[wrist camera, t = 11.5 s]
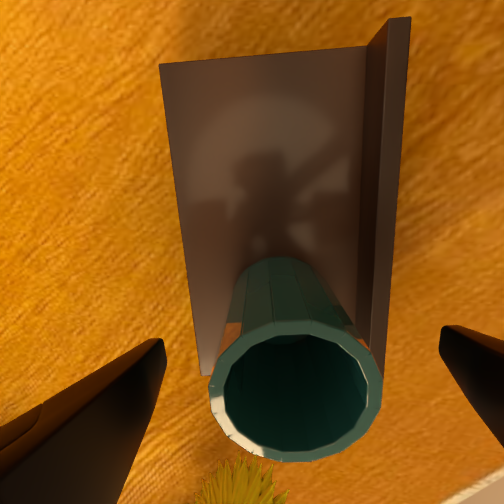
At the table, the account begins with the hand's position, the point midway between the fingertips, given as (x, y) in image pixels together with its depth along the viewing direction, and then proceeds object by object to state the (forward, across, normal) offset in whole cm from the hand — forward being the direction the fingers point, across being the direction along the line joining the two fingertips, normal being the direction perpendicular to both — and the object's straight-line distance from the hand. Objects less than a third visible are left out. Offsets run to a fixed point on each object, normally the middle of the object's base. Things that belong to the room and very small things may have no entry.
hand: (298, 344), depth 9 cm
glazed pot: (+9, 0, +3) cm, 9 cm away
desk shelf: (+13, 0, -2) cm, 13 cm away
